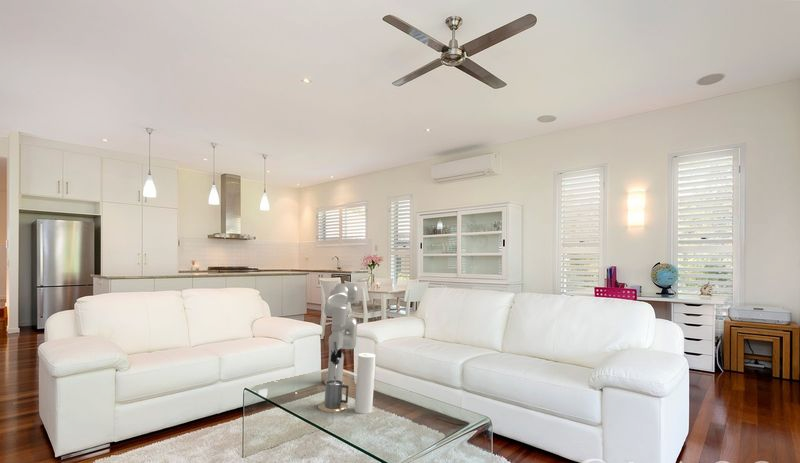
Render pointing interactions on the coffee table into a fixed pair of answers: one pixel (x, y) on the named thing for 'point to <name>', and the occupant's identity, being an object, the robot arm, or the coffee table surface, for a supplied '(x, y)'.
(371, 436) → the coffee table surface
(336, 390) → the press carafe
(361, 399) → the cylinder container
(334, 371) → the plunger
